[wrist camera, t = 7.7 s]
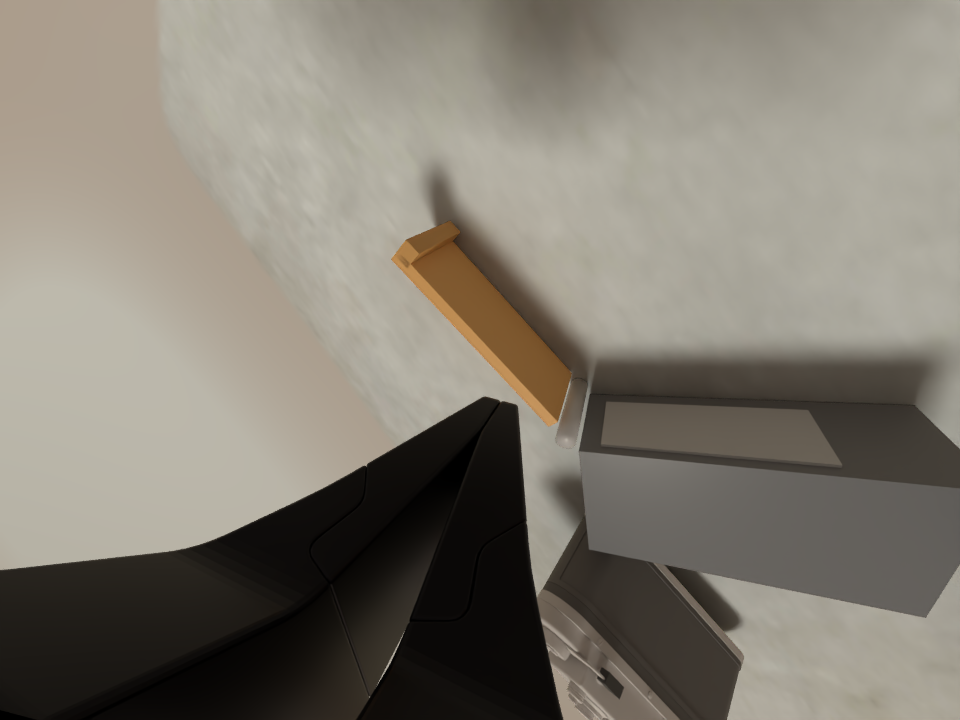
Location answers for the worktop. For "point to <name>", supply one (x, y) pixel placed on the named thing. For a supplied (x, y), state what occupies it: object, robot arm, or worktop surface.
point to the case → (774, 492)
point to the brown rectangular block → (485, 319)
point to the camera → (634, 639)
